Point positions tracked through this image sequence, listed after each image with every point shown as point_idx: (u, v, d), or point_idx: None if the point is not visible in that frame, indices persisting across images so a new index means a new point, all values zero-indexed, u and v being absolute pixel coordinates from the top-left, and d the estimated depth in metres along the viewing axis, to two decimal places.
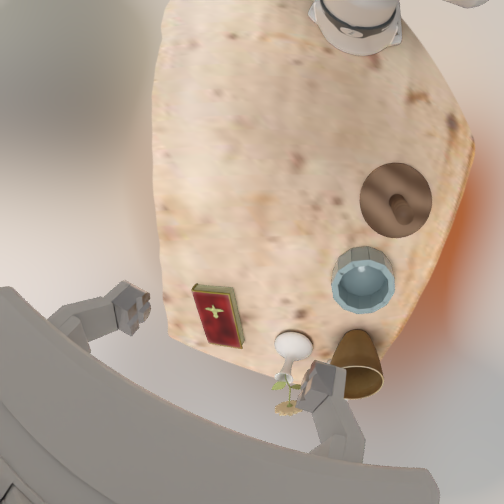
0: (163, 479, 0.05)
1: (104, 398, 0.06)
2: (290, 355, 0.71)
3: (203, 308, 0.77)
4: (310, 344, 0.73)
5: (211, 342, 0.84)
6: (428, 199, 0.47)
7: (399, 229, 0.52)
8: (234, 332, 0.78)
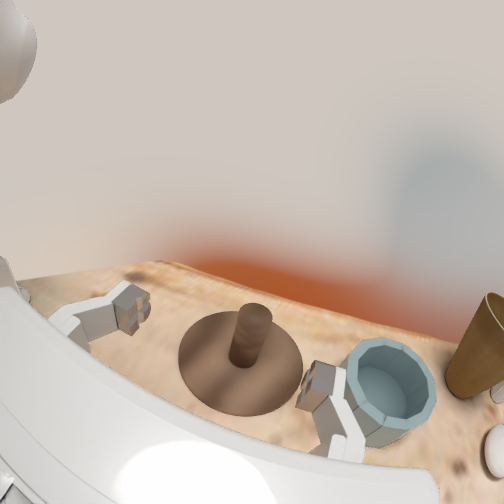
0: (163, 479, 0.05)
1: (104, 398, 0.06)
2: None
3: None
4: (492, 430, 0.22)
5: None
6: (234, 315, 0.39)
7: (287, 353, 0.35)
8: None
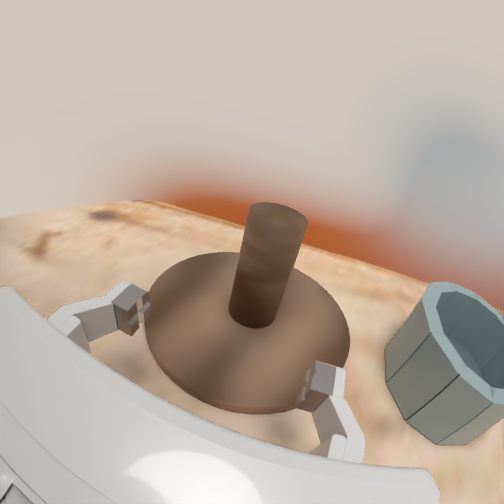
0: (163, 479, 0.05)
1: (104, 398, 0.06)
2: None
3: None
4: None
5: None
6: (232, 256, 0.26)
7: (319, 305, 0.23)
8: None
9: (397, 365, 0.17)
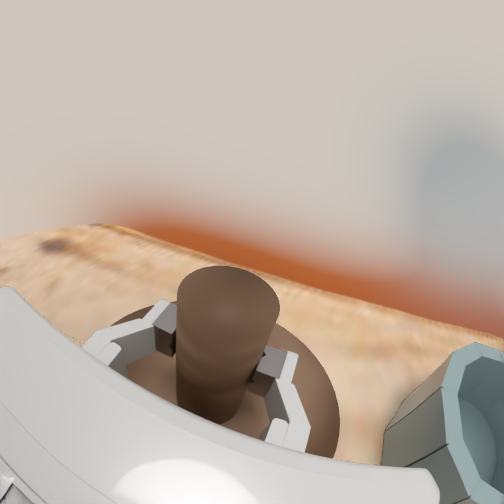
0: (163, 479, 0.05)
1: (104, 398, 0.06)
2: None
3: None
4: None
5: None
6: None
7: (300, 376, 0.16)
8: None
9: (396, 464, 0.10)
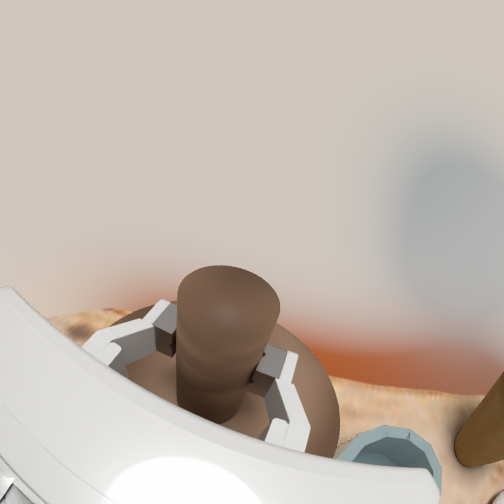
0: (163, 479, 0.05)
1: (104, 398, 0.06)
2: None
3: None
4: (498, 499, 0.10)
5: None
6: None
7: (300, 375, 0.16)
8: None
9: None
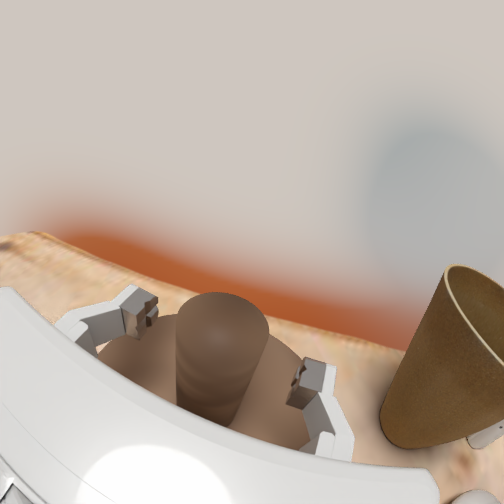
0: (163, 479, 0.05)
1: (104, 398, 0.06)
2: None
3: None
4: None
5: None
6: None
7: None
8: None
9: None
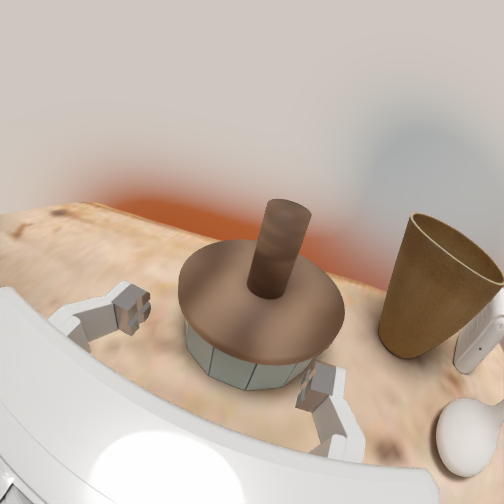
0: (163, 479, 0.05)
1: (104, 398, 0.06)
2: (491, 417, 0.15)
3: None
4: (449, 405, 0.21)
5: None
6: (241, 243, 0.31)
7: (317, 280, 0.28)
8: None
9: None
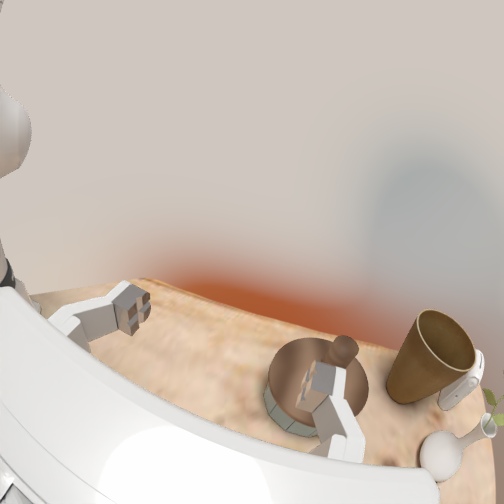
0: (163, 479, 0.05)
1: (104, 398, 0.06)
2: (455, 446, 0.26)
3: None
4: (430, 435, 0.32)
5: None
6: (301, 342, 0.42)
7: (352, 367, 0.39)
8: None
9: (266, 387, 0.39)
